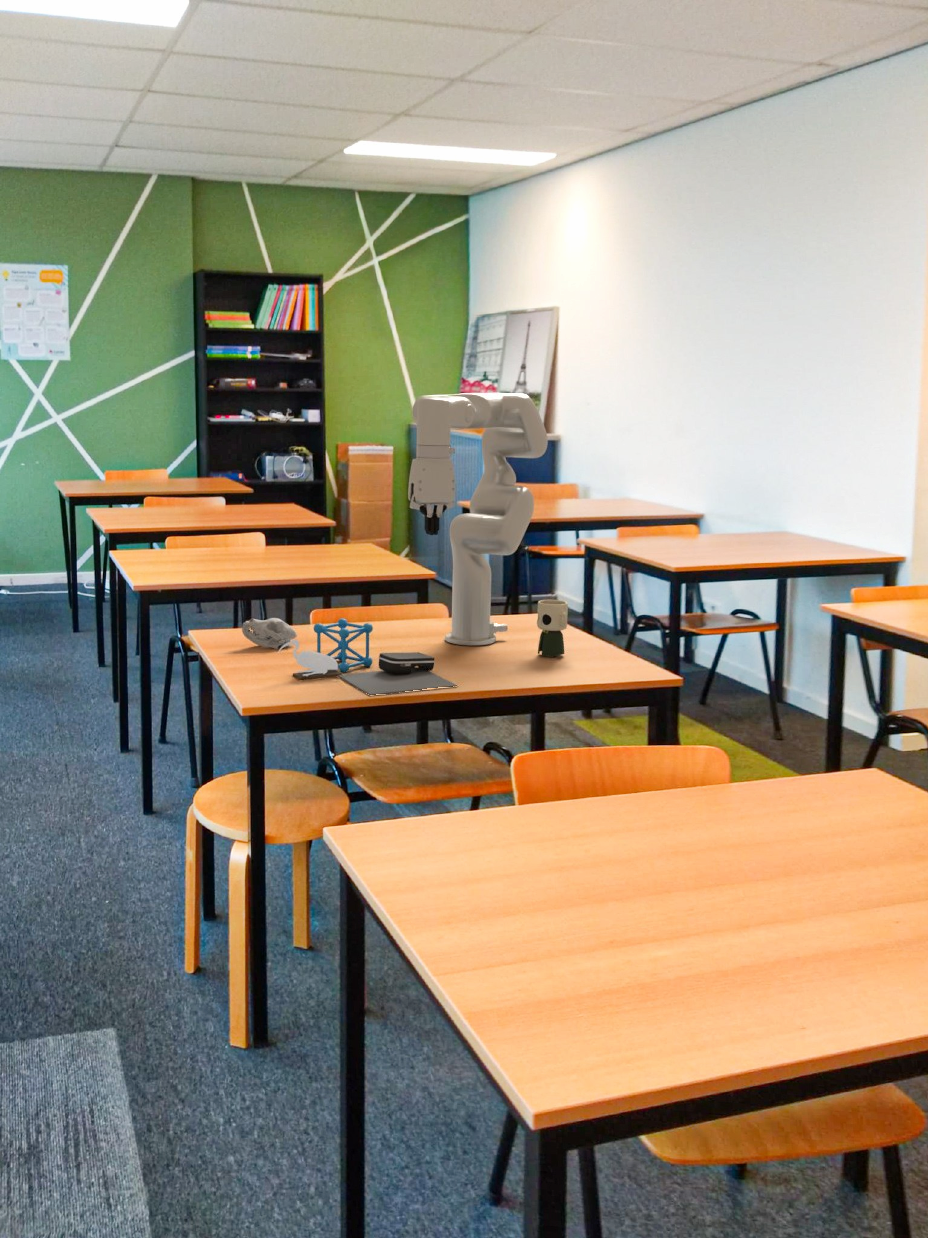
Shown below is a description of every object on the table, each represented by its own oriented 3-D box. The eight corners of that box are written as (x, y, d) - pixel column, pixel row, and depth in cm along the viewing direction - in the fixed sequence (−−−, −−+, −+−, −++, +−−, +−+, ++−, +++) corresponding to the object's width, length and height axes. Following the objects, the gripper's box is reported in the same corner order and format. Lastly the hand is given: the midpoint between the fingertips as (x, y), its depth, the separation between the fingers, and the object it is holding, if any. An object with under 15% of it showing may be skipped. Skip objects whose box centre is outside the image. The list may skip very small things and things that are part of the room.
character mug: (525, 652, 299) (527, 599, 296) (549, 650, 302) (551, 597, 300) (552, 662, 290) (554, 607, 287) (576, 659, 293) (579, 604, 291)
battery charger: (417, 668, 282) (374, 669, 275) (419, 651, 281) (376, 652, 275) (434, 674, 276) (391, 676, 270) (436, 657, 276) (393, 658, 269)
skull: (302, 637, 298) (266, 606, 292) (277, 665, 297) (240, 634, 292) (295, 629, 305) (259, 598, 300) (270, 656, 304) (234, 625, 299)
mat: (420, 668, 281) (420, 666, 281) (457, 687, 265) (457, 685, 265) (337, 676, 272) (337, 674, 272) (370, 696, 256) (370, 694, 256)
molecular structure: (311, 667, 280) (311, 623, 278) (342, 659, 288) (342, 617, 286) (344, 674, 274) (344, 629, 272) (374, 666, 282) (375, 623, 280)
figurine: (282, 683, 265) (281, 643, 264) (274, 679, 269) (273, 639, 268) (342, 676, 272) (342, 637, 271) (334, 672, 276) (334, 633, 275)
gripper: (455, 451, 288) (453, 531, 291) (395, 452, 281) (394, 533, 285) (470, 453, 281) (468, 535, 285) (409, 454, 275) (408, 537, 278)
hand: (431, 534), depth 285 cm, fingers closed
